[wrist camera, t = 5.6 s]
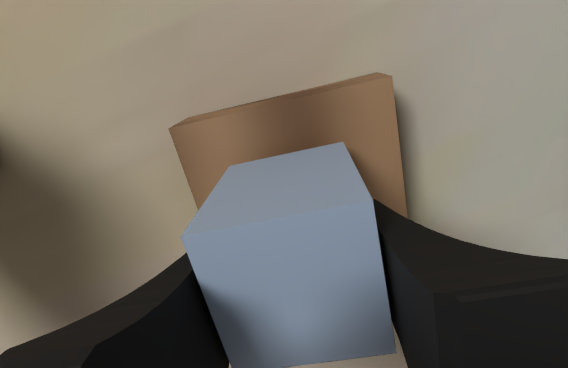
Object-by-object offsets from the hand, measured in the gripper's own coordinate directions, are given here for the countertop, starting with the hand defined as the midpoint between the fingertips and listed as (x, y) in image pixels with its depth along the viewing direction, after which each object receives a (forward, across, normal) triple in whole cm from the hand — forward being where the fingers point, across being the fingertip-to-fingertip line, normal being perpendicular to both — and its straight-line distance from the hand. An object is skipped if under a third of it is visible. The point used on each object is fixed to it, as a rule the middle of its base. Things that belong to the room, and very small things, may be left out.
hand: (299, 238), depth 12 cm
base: (+5, 0, 0) cm, 5 cm away
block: (+2, 0, 0) cm, 2 cm away
